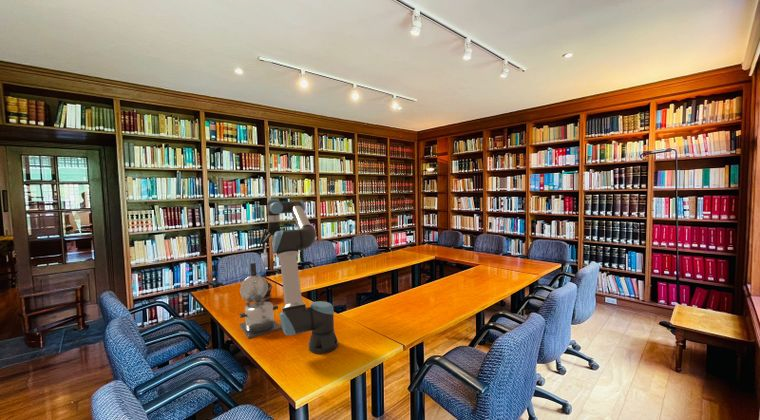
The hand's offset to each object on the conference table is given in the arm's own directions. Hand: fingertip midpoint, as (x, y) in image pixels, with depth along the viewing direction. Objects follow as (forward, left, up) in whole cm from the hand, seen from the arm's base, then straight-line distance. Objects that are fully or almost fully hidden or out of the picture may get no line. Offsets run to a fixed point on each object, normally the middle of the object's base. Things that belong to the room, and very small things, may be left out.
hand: (275, 252), depth 210 cm
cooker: (-18, +17, -41) cm, 48 cm away
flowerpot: (+31, +2, -41) cm, 52 cm away
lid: (-9, +17, -16) cm, 25 cm away
